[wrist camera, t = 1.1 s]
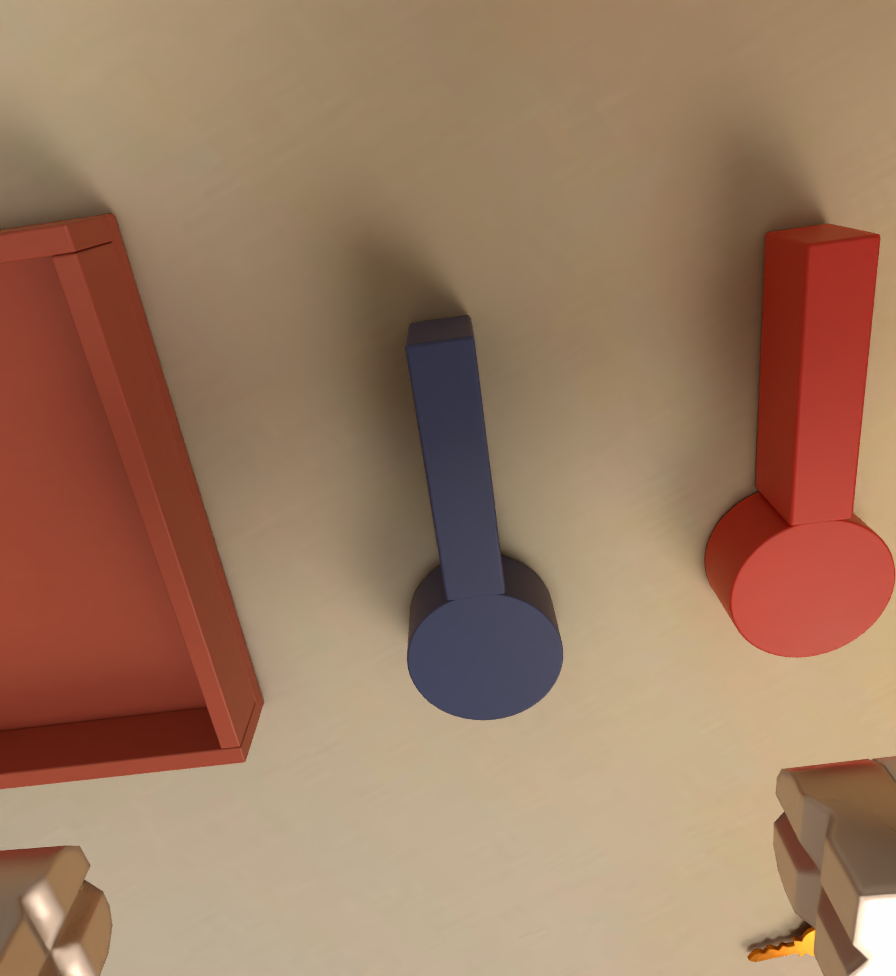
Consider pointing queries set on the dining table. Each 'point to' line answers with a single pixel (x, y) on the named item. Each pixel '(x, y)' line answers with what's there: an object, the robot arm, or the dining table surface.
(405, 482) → the dining table surface
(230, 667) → the red tray
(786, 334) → the red spoon
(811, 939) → the key tag
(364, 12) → the dining table surface
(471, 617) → the blue spoon
